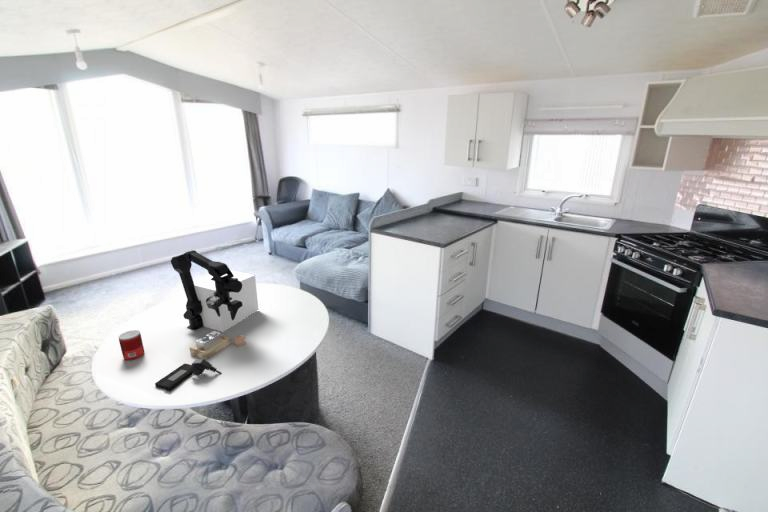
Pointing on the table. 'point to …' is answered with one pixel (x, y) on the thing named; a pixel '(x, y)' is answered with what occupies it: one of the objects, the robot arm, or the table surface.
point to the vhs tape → (174, 378)
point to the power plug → (201, 367)
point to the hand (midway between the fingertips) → (226, 318)
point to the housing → (209, 341)
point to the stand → (210, 349)
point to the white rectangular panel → (246, 296)
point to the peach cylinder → (239, 340)
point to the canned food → (131, 345)
